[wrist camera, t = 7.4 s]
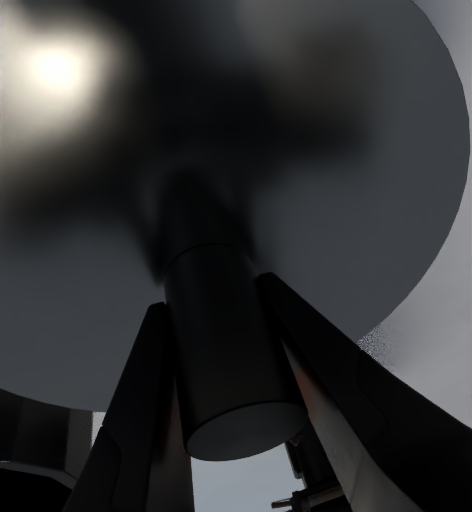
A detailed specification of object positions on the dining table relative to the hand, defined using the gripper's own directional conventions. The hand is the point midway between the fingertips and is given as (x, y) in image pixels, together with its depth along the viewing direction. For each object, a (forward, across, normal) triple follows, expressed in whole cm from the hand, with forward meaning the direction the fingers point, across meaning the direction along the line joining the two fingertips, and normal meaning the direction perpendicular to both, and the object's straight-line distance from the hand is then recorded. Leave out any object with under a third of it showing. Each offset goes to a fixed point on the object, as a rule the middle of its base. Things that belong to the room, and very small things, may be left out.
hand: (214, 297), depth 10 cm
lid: (+1, 0, 0) cm, 1 cm away
